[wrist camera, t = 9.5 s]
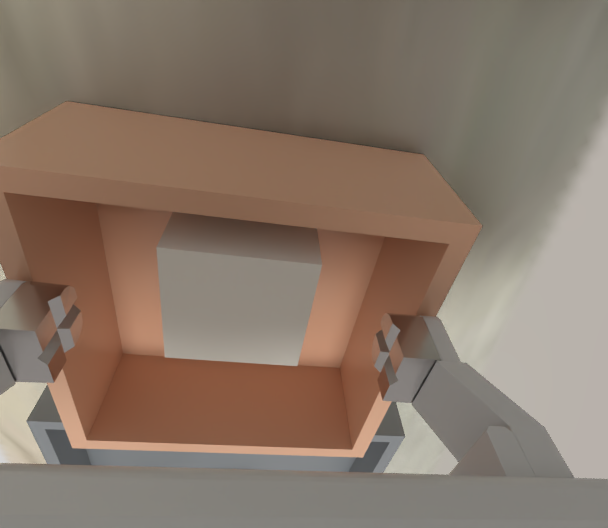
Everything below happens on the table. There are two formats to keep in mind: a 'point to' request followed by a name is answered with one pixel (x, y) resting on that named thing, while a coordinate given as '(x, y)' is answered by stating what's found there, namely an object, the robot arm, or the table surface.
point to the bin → (235, 205)
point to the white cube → (236, 288)
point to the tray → (60, 452)
